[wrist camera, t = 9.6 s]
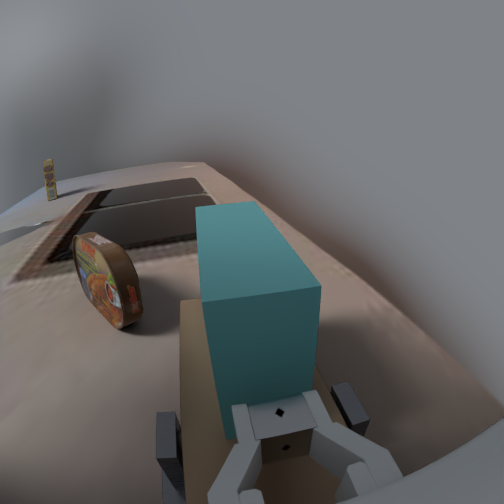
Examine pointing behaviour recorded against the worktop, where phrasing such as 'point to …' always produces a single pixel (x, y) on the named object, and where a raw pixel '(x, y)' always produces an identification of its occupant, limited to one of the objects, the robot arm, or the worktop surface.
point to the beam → (218, 448)
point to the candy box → (50, 179)
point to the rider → (254, 308)
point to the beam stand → (172, 454)
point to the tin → (108, 278)
